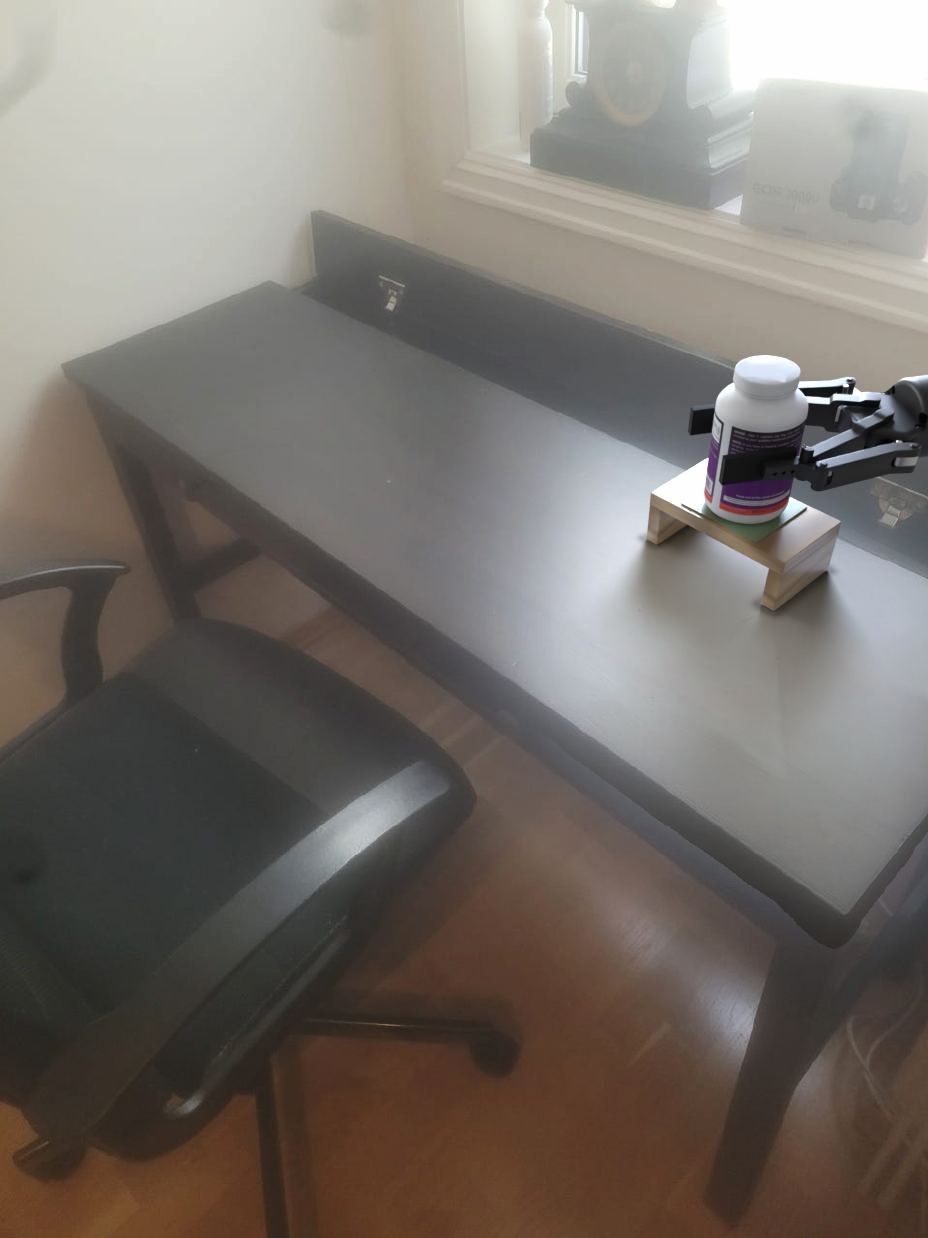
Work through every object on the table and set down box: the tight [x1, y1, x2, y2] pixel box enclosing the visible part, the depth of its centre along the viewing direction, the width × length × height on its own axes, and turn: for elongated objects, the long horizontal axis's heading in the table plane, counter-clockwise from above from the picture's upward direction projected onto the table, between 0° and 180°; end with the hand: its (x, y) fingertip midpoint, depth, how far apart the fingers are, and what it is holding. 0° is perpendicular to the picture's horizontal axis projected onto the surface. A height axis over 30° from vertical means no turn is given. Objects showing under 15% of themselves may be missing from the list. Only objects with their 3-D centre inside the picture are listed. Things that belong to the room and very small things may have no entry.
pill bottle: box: [704, 354, 808, 524], centre depth 80 cm, size 8×8×14 cm
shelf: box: [646, 457, 842, 612], centre depth 87 cm, size 16×9×6 cm, turn 40°
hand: (705, 444), depth 80 cm, fingers closed on pill bottle, 8 cm apart
